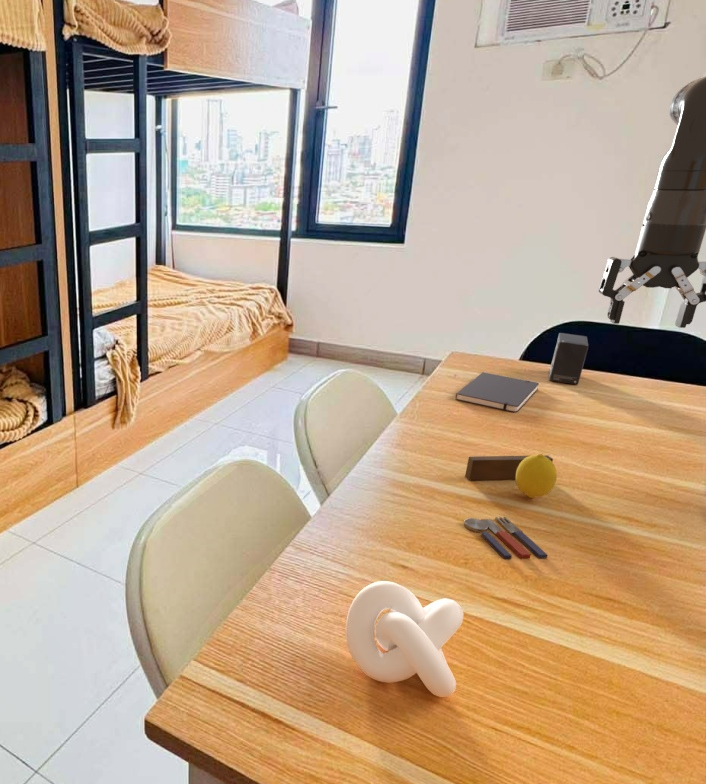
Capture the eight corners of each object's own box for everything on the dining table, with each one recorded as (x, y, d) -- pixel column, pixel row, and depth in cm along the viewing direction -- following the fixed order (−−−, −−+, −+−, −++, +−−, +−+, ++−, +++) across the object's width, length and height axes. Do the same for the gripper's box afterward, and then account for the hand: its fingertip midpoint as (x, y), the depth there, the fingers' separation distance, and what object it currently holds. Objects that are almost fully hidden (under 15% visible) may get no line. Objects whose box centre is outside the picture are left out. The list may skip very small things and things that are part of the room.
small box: (579, 385, 155) (590, 345, 152) (548, 381, 159) (557, 341, 155) (578, 374, 163) (588, 335, 160) (548, 370, 167) (557, 332, 163)
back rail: (542, 475, 111) (547, 455, 110) (548, 479, 110) (553, 458, 109) (464, 476, 111) (468, 456, 110) (469, 480, 110) (473, 460, 109)
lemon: (554, 508, 101) (565, 464, 98) (514, 503, 103) (525, 459, 100) (545, 492, 106) (556, 449, 103) (508, 487, 108) (517, 445, 105)
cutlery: (549, 558, 88) (550, 554, 88) (496, 559, 88) (497, 555, 88) (505, 519, 98) (506, 515, 98) (458, 519, 98) (458, 515, 98)
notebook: (481, 377, 162) (455, 399, 147) (482, 372, 161) (456, 393, 147) (538, 388, 153) (516, 413, 139) (539, 382, 153) (517, 406, 138)
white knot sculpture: (491, 713, 64) (508, 642, 61) (377, 721, 63) (389, 651, 60) (430, 634, 74) (443, 571, 71) (332, 641, 73) (340, 577, 70)
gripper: (724, 219, 96) (693, 323, 101) (611, 218, 101) (587, 316, 107) (747, 223, 89) (712, 334, 95) (625, 221, 95) (599, 326, 100)
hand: (646, 324), depth 101 cm, fingers open, 8 cm apart
